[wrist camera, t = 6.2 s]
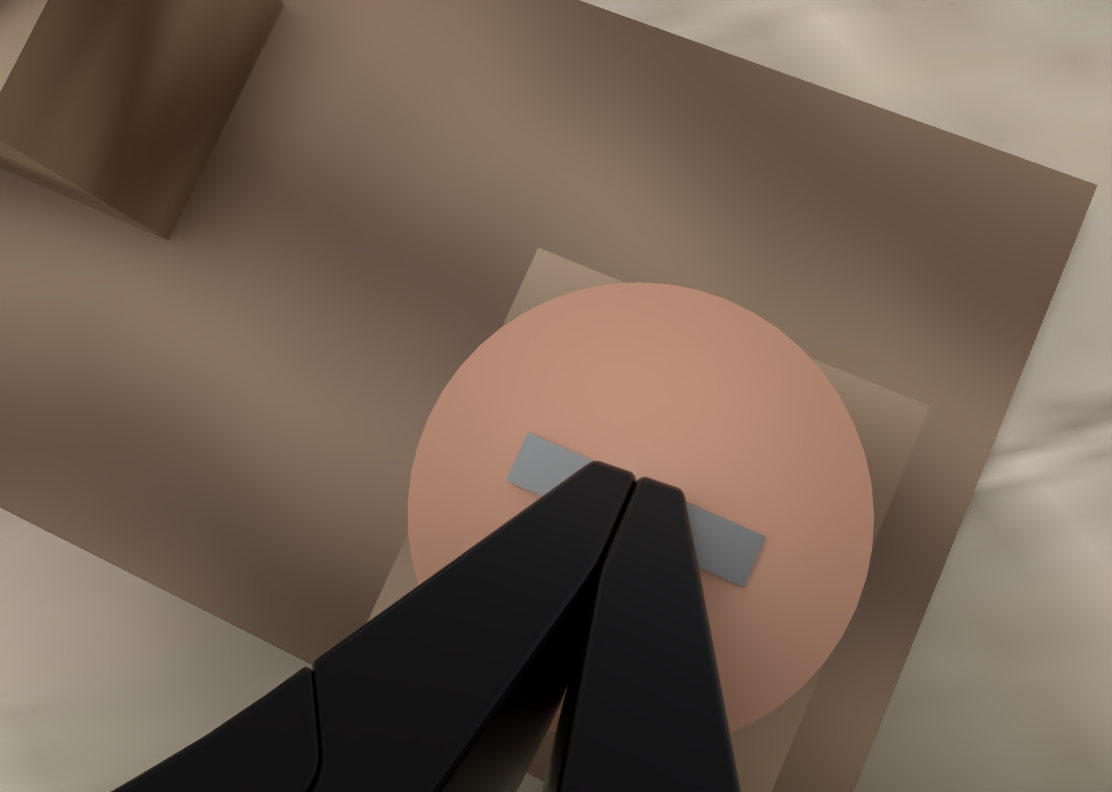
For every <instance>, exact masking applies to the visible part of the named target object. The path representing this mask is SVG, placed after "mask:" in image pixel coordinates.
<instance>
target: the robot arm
mask: <svg viewBox="0 0 1112 792" xmlns="http://www.w3.org/2000/svg"><path fill="white" fill-rule="evenodd" d="M566 689H567V690H566ZM565 691H566V693H565ZM564 694H565V697H564V701H563V704H562V708H561V712H560V716H559V720H558V724H557V728H556V732H555V736H554V741H553V745H552V750H551V754H550V759H549V763H548V768H547V772H546V777H545V781H544V786H543V790H542V792H742V791H741V786H740V781H739V775H738V770H737V765H736V760H735V754H734V749H733V744H732V739H731V733H730V728H729V723H728V718H727V712H726V707H725V702H724V697H723V692H722V686H721V681H720V676H719V671H718V665H717V660H716V655H715V650H714V644H713V639H712V634H711V629H710V623H709V618H708V613H707V608H706V602H705V597H704V592H703V587H702V581H701V576H700V571H699V566H698V561H697V555H696V550H695V545H694V540H693V534H692V529H691V524H690V519H689V513H688V508H687V503H686V498H685V495H684V493H683V491H682V490H681V489H680V488H678V487H675V486H672V485H669V484H666V483H663V482H661V481H658V480H655V479H652V478H649V477H641V478H639V479H638V480H637V482H636V477H635V475H634V474H633V472H631V471H628V470H625V469H622V468H619V467H616V466H613V465H611V464H608V463H605V462H602V461H592V462H590V463H588V464H586V465H585V466H584V467H582V468H581V469H579V470H578V471H577V472H575V473H574V474H572V475H571V476H570V477H568V478H567V479H566V480H564V481H563V482H561V483H560V484H559V485H557V486H556V487H554V488H553V489H552V490H550V491H549V492H547V493H546V494H545V495H543V496H542V497H541V498H539V499H538V500H536V501H535V502H534V503H532V504H531V505H529V506H528V507H527V508H525V509H524V510H522V511H521V512H520V513H518V514H517V515H516V516H514V517H513V518H511V519H510V520H509V521H507V522H506V523H504V524H503V525H502V526H500V527H499V528H497V529H496V530H495V531H493V532H492V533H491V534H489V535H488V536H486V537H485V538H484V539H482V540H481V541H479V542H478V543H477V544H475V545H474V546H472V547H471V548H470V549H468V550H467V551H466V552H464V553H463V554H461V555H460V556H459V557H457V558H456V559H454V560H453V561H452V562H450V563H449V564H447V565H446V566H445V567H443V568H442V569H441V570H439V571H438V572H436V573H435V574H434V575H432V576H431V577H429V578H428V579H427V580H425V581H424V582H422V583H421V584H420V585H418V586H417V587H416V588H414V589H413V590H411V591H410V592H409V593H407V594H406V595H404V596H403V597H402V598H400V599H399V600H397V601H396V602H395V603H393V604H392V605H391V606H389V607H388V608H386V609H385V610H384V611H382V612H381V613H379V614H378V615H377V616H375V617H374V618H372V619H371V620H370V621H368V622H367V623H365V624H364V625H363V626H361V627H360V628H359V629H357V630H356V631H354V632H353V633H352V634H350V635H349V636H347V637H346V638H345V639H343V640H342V641H340V642H339V643H338V644H336V645H335V646H334V647H332V648H331V649H329V650H328V651H327V652H325V653H324V654H322V655H321V656H320V657H318V658H317V659H315V660H314V661H313V663H312V670H311V669H310V668H308V667H304V668H302V669H301V670H299V671H298V672H297V673H295V674H294V675H292V676H291V677H290V678H288V679H287V680H286V681H284V682H283V683H281V684H280V685H279V686H277V687H276V688H275V689H273V690H272V691H270V692H269V693H268V694H266V695H265V696H263V697H262V698H260V699H259V700H258V701H256V702H255V703H253V704H252V705H250V706H249V707H247V708H246V709H244V710H243V711H241V712H240V713H238V714H237V715H235V716H234V717H232V718H231V719H229V720H228V721H226V722H225V723H223V724H222V725H221V726H219V727H218V728H216V729H215V730H213V731H212V732H210V733H209V734H207V735H206V736H204V737H202V738H201V739H199V740H197V741H196V742H194V743H192V744H191V745H189V746H187V747H186V748H184V749H182V750H181V751H179V752H177V753H176V754H174V755H172V756H171V757H169V758H167V759H166V760H164V761H162V762H161V763H159V764H157V765H156V766H154V767H152V768H151V769H149V770H147V771H146V772H144V773H142V774H140V775H139V776H137V777H135V778H134V779H132V780H130V781H128V782H127V783H125V784H123V785H121V786H120V787H118V788H116V789H114V790H113V791H111V792H517V790H518V788H519V786H520V784H521V782H522V780H523V778H524V776H525V774H526V772H527V770H528V768H529V766H530V765H531V763H532V761H533V759H534V757H535V755H536V753H537V751H538V749H539V747H540V745H541V743H542V741H543V739H544V737H545V735H546V733H547V731H548V729H549V727H550V725H551V723H552V721H553V719H554V717H555V715H556V713H557V710H558V708H559V706H560V704H561V701H562V699H563V696H564Z"/></svg>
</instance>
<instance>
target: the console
mask: <svg viewBox="0 0 1112 792" xmlns="http://www.w3.org/2000/svg"><path fill="white" fill-rule="evenodd" d="M1096 187H1097V185H1095V184H1093V183H1090V182H1087V181H1084V180H1081V179H1079V178H1076V177H1073V176H1070V175H1067V174H1065V173H1062V172H1059V171H1056V170H1053V169H1051V168H1048V167H1045V166H1042V165H1039V164H1037V163H1034V162H1031V161H1028V160H1025V159H1023V158H1020V157H1017V156H1014V155H1011V154H1009V153H1006V152H1003V151H1000V150H997V149H995V148H992V147H989V146H986V145H983V144H980V143H978V142H975V141H972V140H969V139H966V138H964V137H961V136H958V135H955V134H952V133H950V132H947V131H944V130H941V129H938V128H936V127H933V126H930V125H927V124H924V123H922V122H919V121H916V120H913V119H910V118H908V117H905V116H902V115H899V114H896V113H894V112H891V111H888V110H885V109H882V108H880V107H877V106H874V105H871V104H868V103H866V102H863V101H860V100H857V99H854V98H851V97H849V96H846V95H843V94H840V93H837V92H835V91H832V90H829V89H826V88H823V87H821V86H818V85H815V84H812V83H809V82H807V81H804V80H801V79H798V78H795V77H793V76H790V75H787V74H784V73H781V72H779V71H776V70H773V69H770V68H767V67H765V66H762V65H759V64H756V63H753V62H751V61H748V60H745V59H742V58H739V57H737V56H734V55H731V54H728V53H725V52H722V51H720V50H717V49H714V48H711V47H708V46H706V45H703V44H700V43H697V42H694V41H692V40H689V39H686V38H683V37H680V36H678V35H675V34H672V33H669V32H666V31H664V30H661V29H658V28H655V27H652V26H650V25H647V24H644V23H641V22H638V21H636V20H633V19H630V18H627V17H624V16H622V15H619V14H616V13H613V12H610V11H608V10H605V9H602V8H599V7H596V6H593V5H591V4H588V3H585V2H582V1H579V0H0V508H2V509H4V510H6V511H8V512H10V513H12V514H14V515H16V516H18V517H20V518H22V519H24V520H26V521H28V522H30V523H32V524H34V525H36V526H38V527H40V528H42V529H44V530H46V531H48V532H50V533H52V534H54V535H56V536H58V537H60V538H62V539H64V540H66V541H68V542H70V543H72V544H74V545H76V546H78V547H80V548H82V549H84V550H86V551H88V552H90V553H92V554H94V555H96V556H98V557H100V558H102V559H104V560H106V561H108V562H109V563H111V564H113V565H115V566H117V567H119V568H121V569H123V570H125V571H127V572H129V573H131V574H133V575H135V576H137V577H139V578H141V579H143V580H145V581H147V582H149V583H151V584H153V585H155V586H157V587H159V588H161V589H163V590H165V591H167V592H169V593H171V594H173V595H175V596H177V597H179V598H181V599H183V600H185V601H187V602H189V603H191V604H193V605H195V606H197V607H199V608H201V609H203V610H205V611H207V612H209V613H211V614H213V615H215V616H217V617H219V618H221V619H223V620H225V621H227V622H229V623H231V624H233V625H235V626H237V627H239V628H241V629H243V630H245V631H247V632H249V633H251V634H253V635H255V636H257V637H259V638H260V639H262V640H264V641H266V642H268V643H270V644H272V645H274V646H276V647H278V648H280V649H282V650H284V651H286V652H288V653H290V654H292V655H294V656H296V657H298V658H300V659H302V660H304V661H306V662H308V663H310V664H312V663H313V661H314V660H315V659H317V658H318V657H320V656H321V655H322V654H324V653H325V652H327V651H328V650H329V649H331V648H332V647H334V646H335V645H336V644H338V643H339V642H340V641H342V640H343V639H345V638H346V637H347V636H349V635H350V634H352V633H353V632H354V631H356V630H357V629H359V628H360V627H361V626H363V625H364V624H365V623H367V622H368V621H370V620H371V619H372V618H374V617H375V616H377V615H378V614H379V613H381V612H382V611H384V610H385V609H386V608H388V607H389V606H391V605H392V604H393V603H395V602H396V601H397V600H399V599H400V598H402V597H403V596H404V595H406V594H407V593H409V592H410V591H411V590H413V589H414V588H416V587H417V586H418V582H417V578H416V574H415V571H414V567H413V563H412V558H411V550H410V543H409V536H408V495H409V486H410V477H411V471H412V467H413V463H414V459H415V455H416V451H417V446H418V443H419V440H420V438H421V435H422V433H423V430H424V427H425V425H426V422H427V420H428V417H429V415H430V413H431V411H432V410H433V408H434V406H435V404H436V402H437V400H438V398H439V397H440V395H441V393H442V391H443V390H444V388H445V387H446V385H447V384H448V383H449V381H450V380H451V378H452V377H453V376H454V374H455V373H456V371H457V370H458V369H459V367H460V366H461V365H462V364H463V363H464V362H465V361H466V360H467V359H468V358H469V356H470V355H471V354H472V353H473V352H474V351H475V350H476V349H477V348H478V347H479V346H480V345H481V344H482V343H483V342H485V341H486V340H487V339H488V338H489V337H490V336H492V335H493V334H494V333H495V332H496V331H498V330H499V329H500V328H501V327H503V326H504V325H506V324H507V323H509V322H510V321H512V320H514V319H515V318H517V317H518V316H520V315H521V314H523V313H524V312H526V311H528V310H530V309H532V308H534V307H536V306H539V305H541V304H543V303H545V302H547V301H549V300H551V299H554V298H557V297H560V296H563V295H566V294H569V293H572V292H575V291H578V290H581V289H587V288H592V287H597V286H602V285H607V284H619V283H635V282H642V283H658V284H670V285H675V286H680V287H685V288H691V289H696V290H699V291H702V292H706V293H709V294H712V295H715V296H718V297H721V298H724V299H726V300H729V301H731V302H733V303H735V304H737V305H739V306H741V307H743V308H745V309H747V310H749V311H752V312H753V313H755V314H757V315H758V316H760V317H761V318H763V319H764V320H766V321H767V322H769V323H770V324H772V325H774V326H775V327H777V328H778V329H779V330H781V331H782V332H783V333H784V334H785V335H786V336H788V337H789V338H790V339H791V340H792V341H794V342H795V343H796V344H797V345H798V346H800V347H801V348H802V349H803V350H804V351H805V353H806V354H807V355H808V356H809V357H810V358H811V359H812V360H813V361H814V362H815V364H816V365H817V366H818V367H819V368H820V369H821V370H822V371H823V373H824V374H825V376H826V377H827V378H828V380H829V381H830V383H831V384H832V386H833V387H834V389H835V390H836V391H837V393H838V394H839V396H840V397H841V399H842V401H843V403H844V405H845V407H846V409H847V411H848V413H849V415H850V417H851V419H852V420H853V422H854V425H855V427H856V430H857V433H858V436H859V438H860V441H861V444H862V447H863V449H864V452H865V456H866V461H867V465H868V470H869V475H870V479H871V484H872V496H873V508H874V526H873V546H872V552H871V557H870V562H869V568H868V573H867V578H866V581H865V584H864V587H863V590H862V593H861V596H860V599H859V602H858V605H857V608H856V610H855V612H854V614H853V616H852V618H851V620H850V622H849V624H848V626H847V628H846V630H845V632H844V634H843V636H842V638H841V639H840V641H839V642H838V644H837V645H836V646H835V648H834V649H833V651H832V652H831V654H830V655H829V657H828V658H827V660H826V661H825V663H824V664H823V665H822V666H821V667H820V668H819V669H818V670H817V671H816V673H815V674H814V675H813V676H812V677H811V678H810V679H809V680H808V681H807V683H806V684H805V685H804V686H803V687H802V688H800V689H799V690H798V691H797V692H796V693H795V694H793V695H792V696H791V697H790V698H789V699H787V700H786V701H785V702H784V703H783V704H781V705H780V706H779V707H777V708H776V709H774V710H773V711H771V712H770V713H768V714H766V715H765V716H763V717H762V718H760V719H758V720H757V721H755V722H754V723H752V724H750V725H748V726H745V727H743V728H741V729H739V730H736V731H734V732H732V733H731V739H732V744H733V749H734V754H735V760H736V765H737V770H738V775H739V781H740V786H741V791H742V792H853V789H854V787H855V784H856V782H857V779H858V777H859V774H860V772H861V769H862V767H863V765H864V762H865V760H866V757H867V755H868V752H869V750H870V747H871V745H872V742H873V740H874V737H875V735H876V732H877V730H878V727H879V725H880V722H881V720H882V717H883V715H884V713H885V710H886V708H887V705H888V703H889V700H890V698H891V695H892V693H893V690H894V688H895V685H896V683H897V680H898V678H899V675H900V673H901V670H902V668H903V665H904V663H905V660H906V658H907V656H908V653H909V651H910V648H911V646H912V643H913V641H914V638H915V636H916V633H917V631H918V628H919V626H920V623H921V621H922V618H923V616H924V613H925V611H926V608H927V606H928V604H929V601H930V599H931V596H932V594H933V591H934V589H935V586H936V584H937V581H938V579H939V576H940V574H941V571H942V569H943V566H944V564H945V561H946V559H947V556H948V554H949V552H950V549H951V547H952V544H953V542H954V539H955V537H956V534H957V532H958V529H959V527H960V524H961V522H962V519H963V517H964V514H965V512H966V509H967V507H968V504H969V502H970V500H971V497H972V495H973V492H974V490H975V487H976V485H977V482H978V480H979V477H980V475H981V472H982V470H983V467H984V465H985V462H986V460H987V457H988V455H989V452H990V450H991V447H992V445H993V443H994V440H995V438H996V435H997V433H998V430H999V428H1000V425H1001V423H1002V420H1003V418H1004V415H1005V413H1006V410H1007V408H1008V405H1009V403H1010V400H1011V398H1012V395H1013V393H1014V391H1015V388H1016V386H1017V383H1018V381H1019V378H1020V376H1021V373H1022V371H1023V368H1024V366H1025V363H1026V361H1027V358H1028V356H1029V353H1030V351H1031V348H1032V346H1033V343H1034V341H1035V339H1036V336H1037V334H1038V331H1039V329H1040V326H1041V324H1042V321H1043V319H1044V316H1045V314H1046V311H1047V309H1048V306H1049V304H1050V301H1051V299H1052V296H1053V294H1054V291H1055V289H1056V287H1057V284H1058V282H1059V279H1060V277H1061V274H1062V272H1063V269H1064V267H1065V264H1066V262H1067V259H1068V257H1069V254H1070V252H1071V249H1072V247H1073V244H1074V242H1075V239H1076V237H1077V234H1078V232H1079V230H1080V227H1081V225H1082V222H1083V220H1084V217H1085V215H1086V212H1087V210H1088V207H1089V205H1090V202H1091V200H1092V197H1093V195H1094V192H1095V190H1096ZM554 736H555V733H553V732H551V731H549V730H548V731H547V733H546V735H545V737H544V739H543V741H542V743H541V745H540V747H539V749H538V751H537V753H536V755H535V757H534V759H533V761H532V763H531V765H530V766H529V768H528V770H527V773H529V774H531V775H533V776H535V777H537V778H539V779H541V780H543V781H545V777H546V772H547V768H548V763H549V759H550V754H551V750H552V745H553V741H554Z"/></svg>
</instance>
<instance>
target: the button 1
mask: <svg viewBox="0 0 1112 792" xmlns="http://www.w3.org/2000/svg"><path fill="white" fill-rule="evenodd" d="M592 461H602V462H605V463H608V464H611V465H613V466H616V467H619V468H622V469H625V470H628V471H631V472H633V474H634V475H635V477H636V482H637V480H638V479H639V478H641V477H649V478H652V479H655V480H658V481H661V482H663V483H666V484H669V485H672V486H675V487H678V488H680V489H681V490H682V491H683V493H684V495H685V498H686V503H687V508H688V513H689V519H690V524H691V529H692V534H693V540H694V545H695V550H696V555H697V561H698V566H699V571H700V576H701V581H702V587H703V592H704V597H705V602H706V608H707V613H708V618H709V623H710V629H711V634H712V639H713V644H714V650H715V655H716V660H717V665H718V671H719V676H720V681H721V686H722V692H723V697H724V702H725V707H726V712H727V718H728V723H729V728H730V733H732V732H734V731H736V730H739V729H741V728H743V727H745V726H748V725H750V724H752V723H754V722H755V721H757V720H758V719H760V718H762V717H763V716H765V715H766V714H768V713H770V712H771V711H773V710H774V709H776V708H777V707H779V706H780V705H781V704H783V703H784V702H785V701H786V700H787V699H789V698H790V697H791V696H792V695H793V694H795V693H796V692H797V691H798V690H799V689H800V688H802V687H803V686H804V685H805V684H806V683H807V681H808V680H809V679H810V678H811V677H812V676H813V675H814V674H815V673H816V671H817V670H818V669H819V668H820V667H821V666H822V665H823V664H824V663H825V661H826V660H827V658H828V657H829V655H830V654H831V652H832V651H833V649H834V648H835V646H836V645H837V644H838V642H839V641H840V639H841V638H842V636H843V634H844V632H845V630H846V628H847V626H848V624H849V622H850V620H851V618H852V616H853V614H854V612H855V610H856V608H857V605H858V602H859V599H860V596H861V593H862V590H863V587H864V584H865V581H866V578H867V573H868V568H869V562H870V557H871V552H872V546H873V526H874V508H873V496H872V484H871V479H870V475H869V470H868V465H867V461H866V456H865V452H864V449H863V447H862V444H861V441H860V438H859V436H858V433H857V430H856V427H855V425H854V422H853V420H852V419H851V417H850V415H849V413H848V411H847V409H846V407H845V405H844V403H843V401H842V399H841V397H840V396H839V394H838V393H837V391H836V390H835V389H834V387H833V386H832V384H831V383H830V381H829V380H828V378H827V377H826V376H825V374H824V373H823V371H822V370H821V369H820V368H819V367H818V366H817V365H816V364H815V362H814V361H813V360H812V359H811V358H810V357H809V356H808V355H807V354H806V353H805V351H804V350H803V349H802V348H801V347H800V346H798V345H797V344H796V343H795V342H794V341H792V340H791V339H790V338H789V337H788V336H786V335H785V334H784V333H783V332H782V331H781V330H779V329H778V328H777V327H775V326H774V325H772V324H770V323H769V322H767V321H766V320H764V319H763V318H761V317H760V316H758V315H757V314H755V313H753V312H752V311H749V310H747V309H745V308H743V307H741V306H739V305H737V304H735V303H733V302H731V301H729V300H726V299H724V298H721V297H718V296H715V295H712V294H709V293H706V292H702V291H699V290H696V289H691V288H685V287H680V286H675V285H670V284H658V283H642V282H635V283H619V284H607V285H602V286H597V287H592V288H587V289H581V290H578V291H575V292H572V293H569V294H566V295H563V296H560V297H557V298H554V299H551V300H549V301H547V302H545V303H543V304H541V305H539V306H536V307H534V308H532V309H530V310H528V311H526V312H524V313H523V314H521V315H520V316H518V317H517V318H515V319H514V320H512V321H510V322H509V323H507V324H506V325H504V326H503V327H501V328H500V329H499V330H498V331H496V332H495V333H494V334H493V335H492V336H490V337H489V338H488V339H487V340H486V341H485V342H483V343H482V344H481V345H480V346H479V347H478V348H477V349H476V350H475V351H474V352H473V353H472V354H471V355H470V356H469V358H468V359H467V360H466V361H465V362H464V363H463V364H462V365H461V366H460V367H459V369H458V370H457V371H456V373H455V374H454V376H453V377H452V378H451V380H450V381H449V383H448V384H447V385H446V387H445V388H444V390H443V391H442V393H441V395H440V397H439V398H438V400H437V402H436V404H435V406H434V408H433V410H432V411H431V413H430V415H429V417H428V420H427V422H426V425H425V427H424V430H423V433H422V435H421V438H420V440H419V443H418V446H417V451H416V455H415V459H414V463H413V467H412V471H411V477H410V486H409V495H408V536H409V543H410V550H411V558H412V563H413V567H414V571H415V574H416V578H417V582H418V585H420V584H421V583H422V582H424V581H425V580H427V579H428V578H429V577H431V576H432V575H434V574H435V573H436V572H438V571H439V570H441V569H442V568H443V567H445V566H446V565H447V564H449V563H450V562H452V561H453V560H454V559H456V558H457V557H459V556H460V555H461V554H463V553H464V552H466V551H467V550H468V549H470V548H471V547H472V546H474V545H475V544H477V543H478V542H479V541H481V540H482V539H484V538H485V537H486V536H488V535H489V534H491V533H492V532H493V531H495V530H496V529H497V528H499V527H500V526H502V525H503V524H504V523H506V522H507V521H509V520H510V519H511V518H513V517H514V516H516V515H517V514H518V513H520V512H521V511H522V510H524V509H525V508H527V507H528V506H529V505H531V504H532V503H534V502H535V501H536V500H538V499H539V498H541V497H542V496H543V495H545V494H546V493H547V492H549V491H550V490H552V489H553V488H554V487H556V486H557V485H559V484H560V483H561V482H563V481H564V480H566V479H567V478H568V477H570V476H571V475H572V474H574V473H575V472H577V471H578V470H579V469H581V468H582V467H584V466H585V465H586V464H588V463H590V462H592ZM566 690H567V689H566ZM565 693H566V691H565ZM564 697H565V694H564V696H563V699H562V701H561V704H560V706H559V708H558V710H557V713H556V715H555V717H554V719H553V721H552V723H551V725H550V727H549V729H548V730H549V731H551V732H553V733H555V732H556V728H557V724H558V720H559V716H560V712H561V708H562V704H563V701H564Z"/></svg>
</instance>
